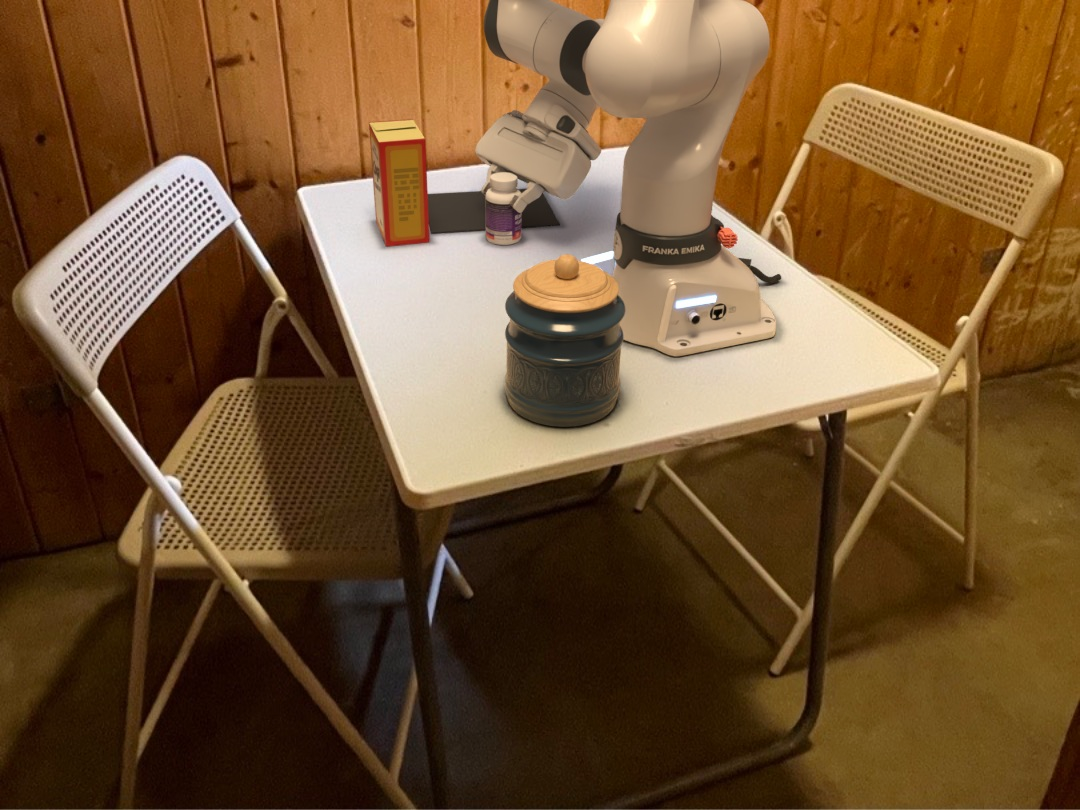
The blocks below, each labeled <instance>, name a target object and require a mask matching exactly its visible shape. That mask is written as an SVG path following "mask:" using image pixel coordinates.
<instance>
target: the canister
mask: <svg viewBox="0 0 1080 810" xmlns="http://www.w3.org/2000/svg"><path fill="white" fill-rule="evenodd" d="M612 276H613V275H611V274H610V273H607V272H606V271H605V270H603V269H602V268H600V267H599V266H597V265H595V264H590V263H587V262H584V261H581V260H579V259H577V257H576V256H574V255H572V254H569V253H568V254H567V253H566V254H565V253H564V254H561V255H559V256H558V257H557V258H556V259H549V260H546V261H542V262H538V263H537V264H534V265H532V266H531V267H530V268H528V269H526V270H524V271H522V272H520V273H519V274H518V275H517V276H516V277H515V278H514V280H513V283H512V290H513V291H512V292H511V293H510V294H509V295H507V298H506V300H505V304H504V309H505V313H506V314H507V316H508V318H509V321H508V323H507V324H506V327H505V330H504V339H505V341H506V373H505V376H504V383H505V384H504V388H505V389H504V390H505V393H506V396H507V401H508V404H509V405H510V407H511V408H512V410H513V411H514V412H516V414H518V415H520V416H521V417H523V418H524V419H526V420H529V421H531V422H534V423H537V424H539V425H544V426H550V427H557V428H558V427H560V428H570V427H571V428H572V427H579V426H586V425H589V424H592V423H595V422H598V421H599V420H601V419H603V418H605V417H606V416H607V415H609V414H610V413H611V412H612V411H613V409H615V407H616V404H617V400H618V397H619V394H620V389H621V388H620V387H621V379H620V368H621V367H620V366H621V353H622V344H623V342H624V340H623V338H624V335H623V330H622V328H621V326H620V321H621V320H622V319H623V317H624V315H625V310H626V308H625V304H624V302H623V300H622V299H621V297H620V296H619V295H618V293H619V285H618V283H617V281H616V280H615V279H614V278H613V277H612Z"/></svg>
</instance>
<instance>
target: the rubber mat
mask: <svg viewBox="0 0 1080 810" xmlns="http://www.w3.org/2000/svg"><path fill="white" fill-rule="evenodd" d="M517 189H518V190H519V191H520V192H521V194H522V193H523V192H524V191H525V190H527V189H528V188H517ZM485 197H486V196H485V195H484V194H483V193H482V192H481V190H479V191H478V190H477V191H476V190H475V191H460V192H459V191H458V192H457V191H456V192H442V193H439V192H438V193H428V215H429V231H430V233H431V235H435V234H450V233H451V234H452V233H453V234H454V233H467V232H469V233H470V232H482V231H483V232H486V202H485ZM560 226H561V222H560V221H559V219H558V218H557V216H556V214H555V212H554V210H553V208H552V207H551V205H550V203H549V201H548V199H547V197H546V196H545V194H544V192H543V193H542V194H541V196H540V197H539V198H537V199H536V200H534V201H532V202H531V203H529V204H527V206H526V207H525V209H524V210H523V212H522V226H521V229H529V228H530V229H533V228H549V227H550V228H551V227H560Z"/></svg>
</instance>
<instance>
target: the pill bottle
mask: <svg viewBox="0 0 1080 810" xmlns="http://www.w3.org/2000/svg"><path fill="white" fill-rule="evenodd" d="M490 186H491V188H490V189H489V190H488V191H487V192H486V197H485V202H486V231H485V239H486V240H487V241H488V242H489V243H491V244H494V245H499V246H508V245H513V244H516V243H518V242H520V241H521V240H522V228H521V226H522V212H521V213H519V212H517V211H515V210H513V209H512V208H511V207H510V206H509V203H510V201H512V198H513V197H514V195H516V196H519V195H520V194H521V192H520V191H519V190H518V189H519V188H518V179H517V176H516V175H515V174H513V173H507V172H499V173H494V174H492V175H491V176H490Z"/></svg>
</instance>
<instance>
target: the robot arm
mask: <svg viewBox="0 0 1080 810" xmlns="http://www.w3.org/2000/svg"><path fill="white" fill-rule="evenodd" d="M483 17H484V18H483V34H484V38H485V41H486V45H487V47H488V49H489V51H490V52H491V54H493V56H495V57H497V58H500V59H503V60H505V61H508V62H511V63H514V64H516V65H520V66H522V67H524V68H525V69H528V70H530V71H532V72H534V73H536V74H538V75H539V76H543V77H545V78H547V79H548V81H547V82H546V83H545V84H544V85H542V87H541V88H540V89H539V90H538V92H537V94H536V95H535V97H534V98H533V99H532V101H531V102H530V104H529V105H528V106H527V109H525V111H524V112H521V111H520V110H517V109H514V110H512V111H509V112H507V113H504V114H503V115H502V116H500V117H499V118H497V119H496V120H495V121H494V123H493V124H491V125H490V127H489V128H488V129H487V130H486V132H484V133H483V135H482V137H481V138H480V139H479V141H478V142H477V143H476V144H475V148H474V149H475V150H474V154H475V156H476V157H477V158H479V160H481V162H483V163H484V164H485V165H486V166H489V167H488V168H487V174H486V182H484V185H483V186H482V187H481V188H480V189H481V190H480V191H481V192H482V193H483V194H484V195H485V196H486V192H487V191H488V190H489V189H490V188H491V186H490V176H491V175H492V174H494V173H499V172H507V173H513V174H515V175H516V176H517V180H519V181H521V182H524V183H525V184H526V186H525V187H526V189H527V190H525V191H524V192H523V193H522V194H520V195H519V196H516V195H514V197H513V198H512V201H510V203H509V206H510V207H511V208H512V209H513V210H515V211H517V212H519V213H521V212H523V210H524V209H525V207H526V206H527V204H529V203H531V202H532V201H534V200H536V199H537V198H539V197H540V196H541V194H542V193H543V194H544V192H545V193H546V194H549V195H551V196H553V197H556V198H558V199H560V200H563V201H566V200H569V199H570V198H572V197H574V195H575V194H576V193H577V191H578V190H579V189H580V187H581V186H582V184H583V183H584V181H585V179H586V178H587V176H588V175H589V172H590V171H591V168H592V161H596V160H597V159H598V158H599V156H600V155H601V153H602V148H601V147H600V146H599V144H598V142H596V140H595V139H594V137H592V135H591V134H590V133H589V131H588V130H587V129H588V127H589V126H590V124H591V123H592V119H593V116H594V115H595V112H597V109H598V108H601V110H602V111H604V112H605V113H607V114H608V115H611V116H612V117H615V118H619V119H645V121H644V124H643V125H642V127H641V129H640V130H639V132H638V133H637V135H636V136H635V137H634V139H633V140H632V141H631V143H630V144H629V146H628V148H627V150H626V152H625V155H624V158H623V166H622V168H623V169H622V181H621V182H622V183H621V196H620V211H619V212H618V213H617V215H616V219H615V229H614V232H613V248H612V249H613V250H611V251H607V252H603V253H600V254H596V255H591V256H588V257H585V258H581V260H580V261H584V262H587V263H590V264H593V265H595V264H596V263H597V264H598V263H601V262H604V261H608V260H612V259H614V265H613V266H614V267H613V271H612V275H611V276H612V277H613V278H614V279H615V280H616V281H617V283H618V285H619V293H618V295H619V296H620V297H621V299H622V300H623V302H624V304H625V308H626V310H625V315H624V317H623V319H622V320H621V321H620V326H621V328H622V330H623V335H624V338H623V341H626V342H629V343H632V344H634V345H639V346H644V347H647V348H652V349H655V350H657V351H659V352H661V353H663V354H665V355H668V356H671V357H683V356H687V355H692V354H698V353H702V352H708V351H713V350H718V349H722V348H726V347H727V348H729V347H732V346H737V345H742V344H747V343H752V342H757V341H762V340H766V339H771V338H774V337H775V334H776V332H777V320H776V317H775V315H774V313H773V311H772V309H771V308H770V307H769V305H768V304H767V303H766V302H765V301H764V300H763V299H762V297H761V296H762V295H761V289H760V285H759V282H758V280H757V279H759V280H760V281H762V282H763V283H766V284H775V283H777V282H779V281H781V280H782V275H781V274H780V273H777V274H774V275H773V276H768V275H766V274H765V273H764V272H763V271H761V270H760V269H759V268H757V267H756V266H754V265H752V258H744V257H737V256H736V255H734V254H733V253H732V252H731V251H730V250H729V249H731V248H734V247H735V245H737V243H738V240H739V239H738V235H737V234H736V233H735V232H734V231H733V229H732V228H730V227H725V225H724V223H723V222H722V221H721V220H720V219H718V218H717V217H715V216H713V214H712V213H713V205H714V196H715V192H716V191H715V189H716V183H717V176H718V169H719V166H720V165H719V164H720V160H721V158H722V157H721V156H722V154H723V150H724V147H725V144H726V140H727V138H728V135H729V133H730V130H731V128H732V125H733V123H734V120H735V117H736V115H737V112H738V110H739V108H740V105H741V102H742V100H743V98H744V96H745V94H746V92H747V90H748V88H749V86H750V85H751V83H752V82H753V81H754V79H755V78H756V76H757V75H758V74H759V73H760V72H761V70H762V69H763V67H764V65H765V63H766V62H767V59H768V56H769V52H770V44H771V43H770V42H771V41H770V32H769V27H768V24H767V22H766V20H765V18H764V16H763V15H762V13H761V12H760V10H758V8H757V7H756V6H754V4H752V3H749V2H748V1H746V0H610V1H609V5H608V9H607V12H606V15H605V17H604V18H596V19H593V18H591V17H589V16H588V15H586V14H584V13H581V12H579V11H577V10H575V9H573V8H570V7H567V6H565V5H562V4H560V3H557V2H556V1H553V0H489V1H488V3H487V6H486V9H485V14H484V16H483Z"/></svg>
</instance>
